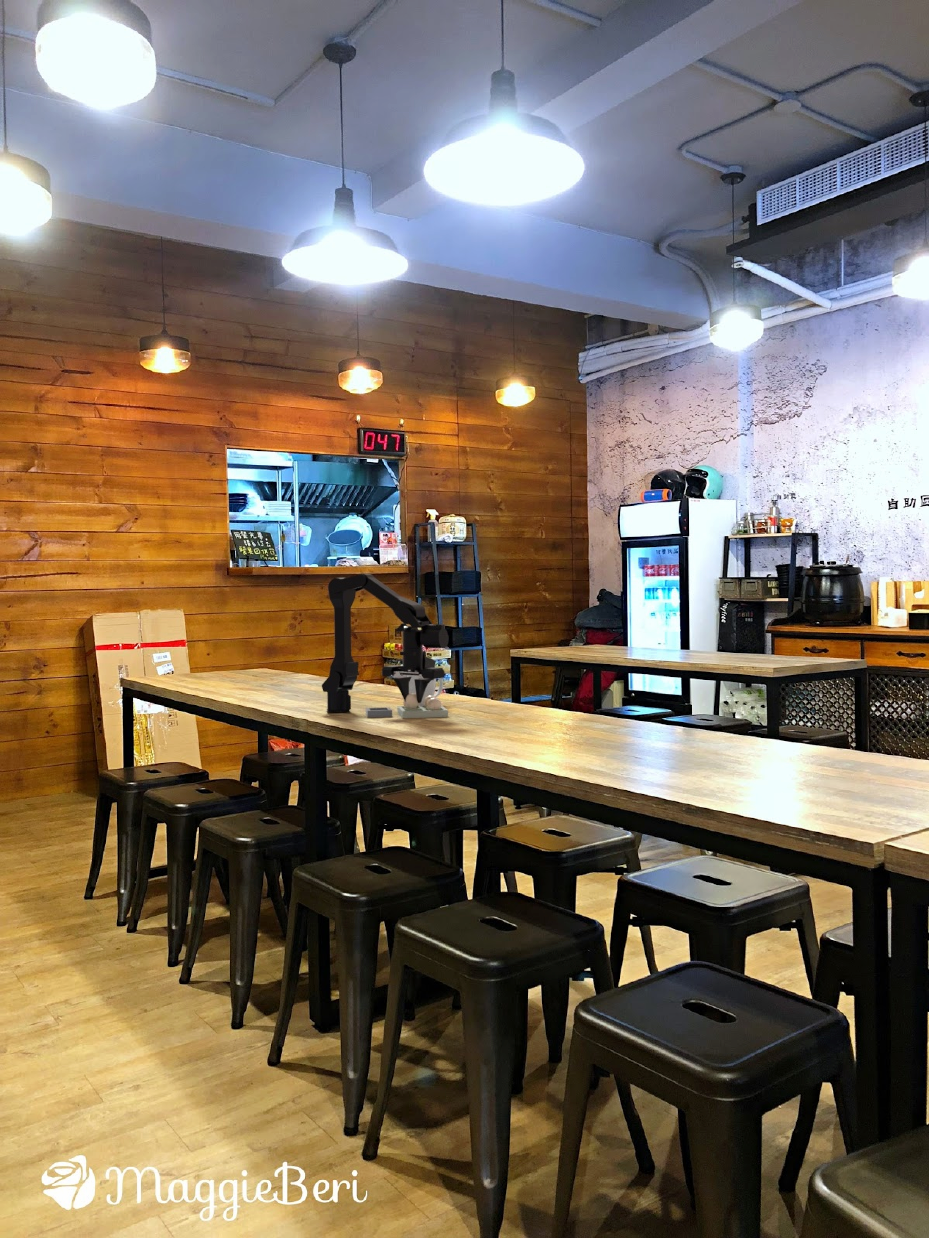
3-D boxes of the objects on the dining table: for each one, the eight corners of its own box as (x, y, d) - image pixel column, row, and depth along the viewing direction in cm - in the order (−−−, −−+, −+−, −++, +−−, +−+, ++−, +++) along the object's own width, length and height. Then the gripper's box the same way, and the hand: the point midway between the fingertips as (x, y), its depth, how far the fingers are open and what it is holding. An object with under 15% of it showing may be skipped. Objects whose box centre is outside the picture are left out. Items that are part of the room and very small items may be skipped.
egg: (406, 708, 269) (406, 693, 269) (404, 706, 273) (404, 692, 273) (421, 708, 269) (421, 693, 269) (419, 706, 274) (419, 691, 273)
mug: (431, 702, 304) (431, 662, 304) (453, 705, 296) (453, 663, 296) (393, 706, 295) (393, 664, 295) (414, 709, 286) (414, 666, 286)
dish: (367, 717, 269) (367, 710, 269) (365, 714, 276) (365, 707, 276) (392, 716, 271) (392, 710, 271) (389, 713, 278) (389, 707, 277)
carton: (402, 718, 267) (402, 699, 267) (397, 712, 280) (397, 694, 280) (448, 716, 270) (448, 698, 269) (441, 711, 282) (440, 693, 282)
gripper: (455, 647, 272) (456, 701, 273) (404, 645, 283) (404, 697, 283) (432, 649, 263) (433, 705, 263) (380, 647, 273) (380, 701, 274)
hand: (413, 702), depth 271 cm, fingers closed on egg, 4 cm apart
